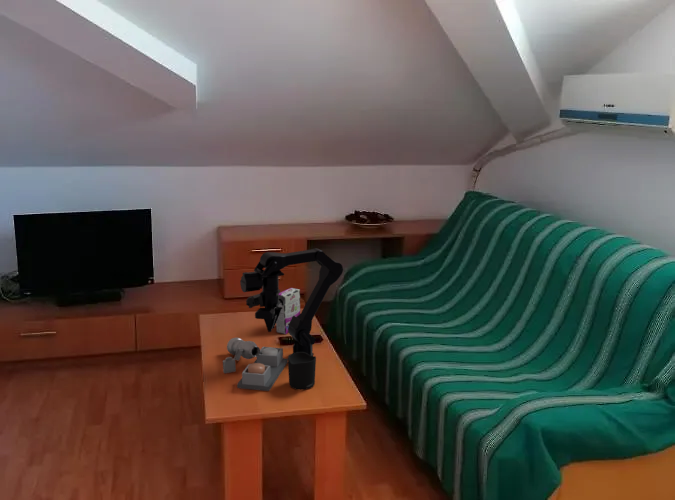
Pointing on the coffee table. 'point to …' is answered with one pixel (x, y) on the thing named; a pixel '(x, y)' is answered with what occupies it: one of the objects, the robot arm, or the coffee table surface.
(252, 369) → the terracotta button
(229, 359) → the lighter
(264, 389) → the twin socket base plate
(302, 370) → the pen holder
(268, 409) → the coffee table surface
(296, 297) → the candy bar box
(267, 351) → the grey button
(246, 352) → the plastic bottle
